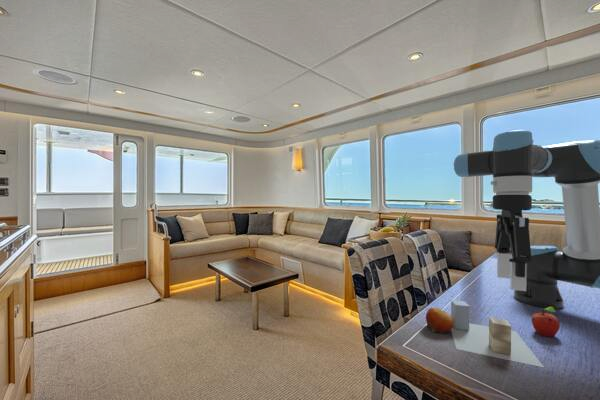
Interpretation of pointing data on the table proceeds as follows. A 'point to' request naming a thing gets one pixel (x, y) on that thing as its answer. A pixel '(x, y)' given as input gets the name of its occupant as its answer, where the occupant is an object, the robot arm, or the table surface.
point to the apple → (545, 323)
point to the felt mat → (479, 343)
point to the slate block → (460, 314)
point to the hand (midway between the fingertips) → (510, 283)
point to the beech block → (500, 335)
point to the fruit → (439, 320)
